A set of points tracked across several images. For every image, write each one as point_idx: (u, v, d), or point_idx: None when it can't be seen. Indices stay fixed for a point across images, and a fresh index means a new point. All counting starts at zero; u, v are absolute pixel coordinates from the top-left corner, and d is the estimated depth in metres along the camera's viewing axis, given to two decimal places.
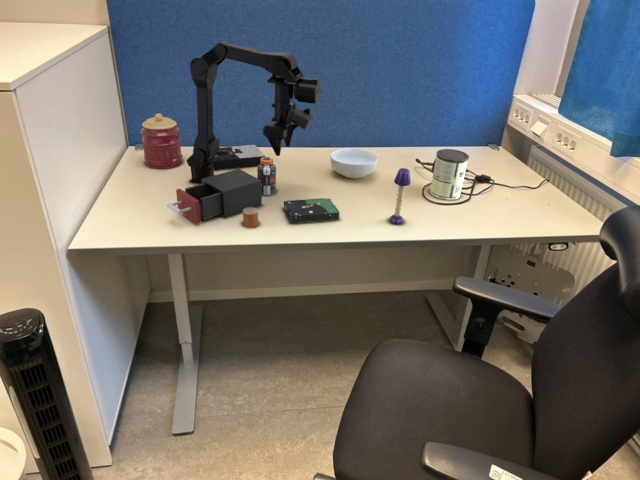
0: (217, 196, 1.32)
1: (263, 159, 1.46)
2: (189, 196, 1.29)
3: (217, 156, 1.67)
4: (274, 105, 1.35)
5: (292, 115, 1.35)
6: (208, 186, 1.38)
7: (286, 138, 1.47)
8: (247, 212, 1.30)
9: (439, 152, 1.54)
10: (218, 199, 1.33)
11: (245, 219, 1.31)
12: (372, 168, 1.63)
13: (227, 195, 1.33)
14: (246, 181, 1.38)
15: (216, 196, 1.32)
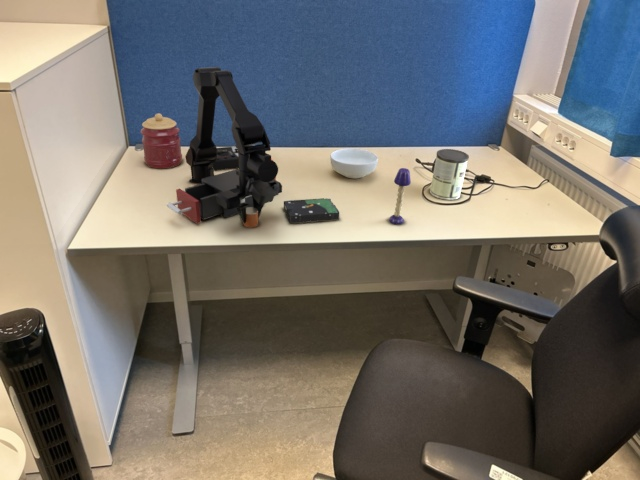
0: None
1: None
2: (189, 196, 1.29)
3: (217, 156, 1.67)
4: (237, 173, 1.25)
5: (250, 187, 1.23)
6: (208, 186, 1.38)
7: None
8: (247, 212, 1.30)
9: (439, 152, 1.54)
10: None
11: None
12: (372, 168, 1.63)
13: None
14: None
15: None
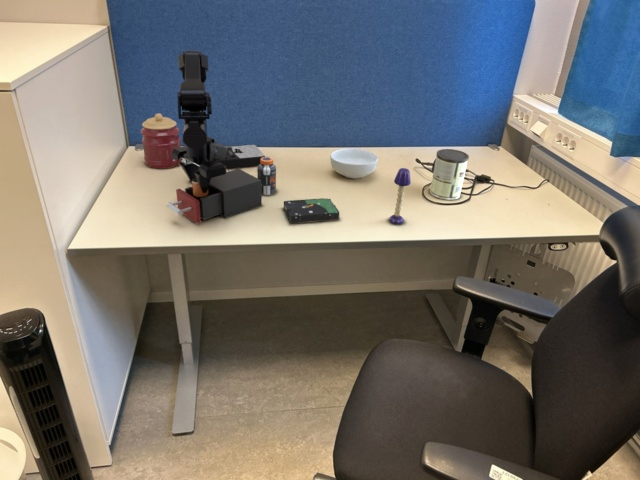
0: (217, 196, 1.32)
1: (263, 159, 1.46)
2: (189, 196, 1.29)
3: None
4: None
5: (213, 149, 1.27)
6: None
7: None
8: None
9: (439, 152, 1.54)
10: (218, 199, 1.33)
11: None
12: (372, 168, 1.63)
13: (227, 195, 1.33)
14: (246, 181, 1.38)
15: (216, 196, 1.32)
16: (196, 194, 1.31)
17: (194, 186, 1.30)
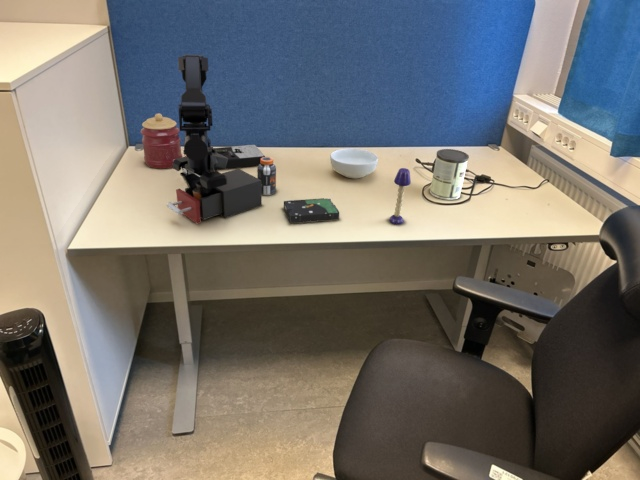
0: (217, 196, 1.32)
1: (263, 159, 1.46)
2: (189, 196, 1.29)
3: None
4: None
5: (214, 159, 1.29)
6: None
7: None
8: None
9: (439, 152, 1.54)
10: (218, 199, 1.33)
11: None
12: (372, 168, 1.63)
13: (227, 195, 1.33)
14: (246, 181, 1.38)
15: (216, 196, 1.32)
16: None
17: (195, 196, 1.32)
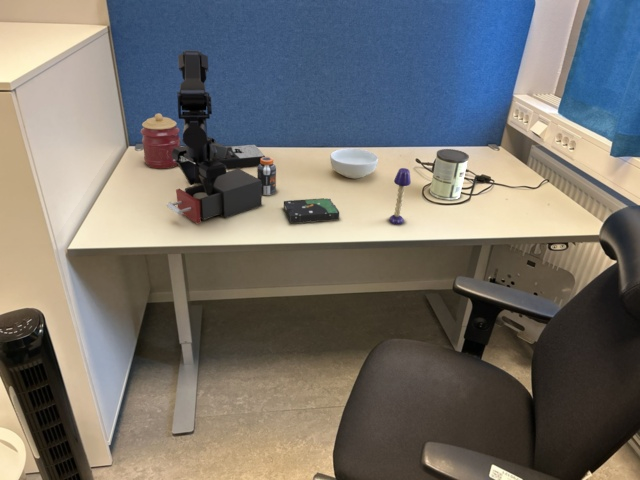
0: (217, 196, 1.32)
1: (263, 159, 1.46)
2: (189, 196, 1.29)
3: None
4: None
5: (213, 148, 1.27)
6: None
7: (190, 177, 1.33)
8: (205, 196, 1.33)
9: (439, 152, 1.54)
10: (218, 199, 1.33)
11: None
12: (372, 168, 1.63)
13: (227, 195, 1.33)
14: (246, 181, 1.38)
15: (216, 196, 1.32)
16: None
17: None
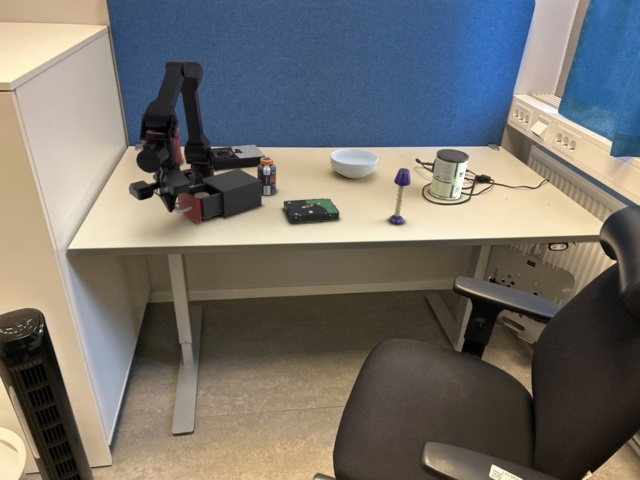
0: (217, 196, 1.32)
1: (263, 159, 1.46)
2: (190, 196, 1.29)
3: (217, 156, 1.67)
4: None
5: (164, 177, 1.19)
6: (209, 186, 1.39)
7: None
8: (205, 196, 1.33)
9: (439, 152, 1.54)
10: (219, 199, 1.33)
11: None
12: (372, 168, 1.63)
13: (227, 195, 1.33)
14: (246, 181, 1.38)
15: (217, 196, 1.32)
16: None
17: None
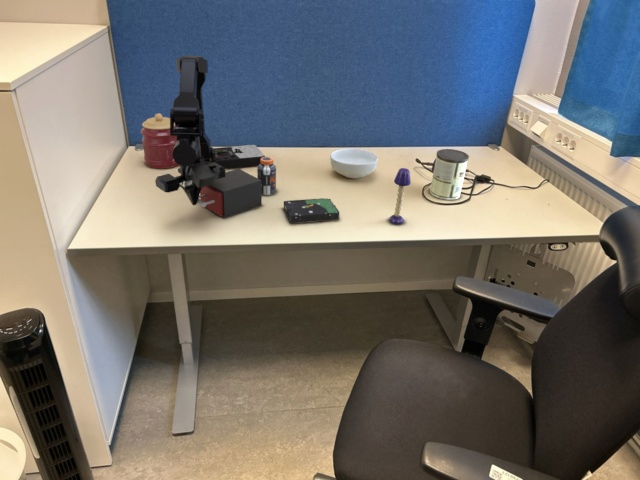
0: None
1: (263, 159, 1.46)
2: (212, 189, 1.34)
3: (217, 156, 1.67)
4: None
5: (189, 170, 1.23)
6: None
7: None
8: None
9: (439, 152, 1.54)
10: None
11: None
12: (372, 168, 1.63)
13: (227, 195, 1.33)
14: (246, 181, 1.38)
15: None
16: None
17: None
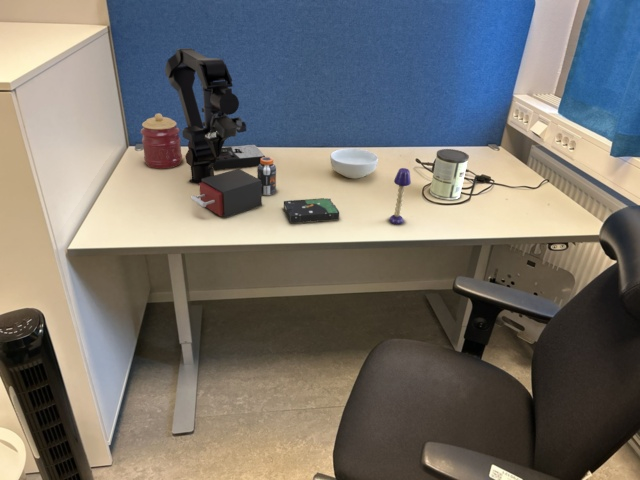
0: None
1: (263, 159, 1.46)
2: (212, 189, 1.34)
3: None
4: (203, 110, 1.35)
5: (214, 122, 1.33)
6: None
7: None
8: None
9: (439, 152, 1.54)
10: None
11: None
12: (372, 168, 1.63)
13: (227, 195, 1.33)
14: (246, 181, 1.38)
15: None
16: None
17: None
